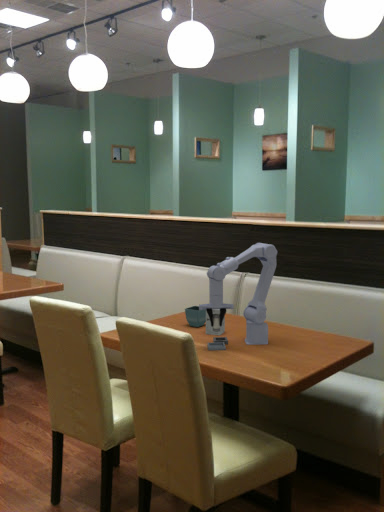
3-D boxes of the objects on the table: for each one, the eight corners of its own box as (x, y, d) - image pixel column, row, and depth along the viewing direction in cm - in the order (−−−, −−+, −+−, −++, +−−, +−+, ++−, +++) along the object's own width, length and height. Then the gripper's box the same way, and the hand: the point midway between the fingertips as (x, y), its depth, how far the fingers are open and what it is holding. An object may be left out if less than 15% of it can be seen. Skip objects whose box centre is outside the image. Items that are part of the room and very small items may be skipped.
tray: (224, 345, 231) (224, 342, 231) (225, 350, 224) (225, 347, 223) (207, 346, 230) (207, 342, 230) (208, 351, 223) (208, 347, 223)
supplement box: (205, 334, 248) (205, 308, 247) (210, 330, 255) (210, 305, 254) (220, 336, 246) (220, 309, 244) (225, 332, 252) (225, 306, 251)
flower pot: (194, 322, 271) (194, 305, 270) (209, 325, 266) (209, 307, 265) (184, 326, 264) (184, 308, 263) (198, 328, 259) (198, 310, 258)
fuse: (219, 329, 228) (219, 313, 227) (220, 331, 225) (220, 315, 224) (212, 329, 228) (212, 313, 227) (212, 331, 225) (212, 315, 224)
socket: (226, 341, 238) (226, 336, 237) (228, 345, 232) (228, 340, 231) (213, 341, 237) (213, 337, 237) (214, 345, 231) (214, 341, 231)
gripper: (232, 292, 228) (232, 323, 230) (198, 292, 228) (198, 323, 229) (234, 295, 221) (234, 327, 223) (199, 296, 221) (199, 328, 222)
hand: (216, 325), depth 226 cm, fingers closed on fuse, 3 cm apart
